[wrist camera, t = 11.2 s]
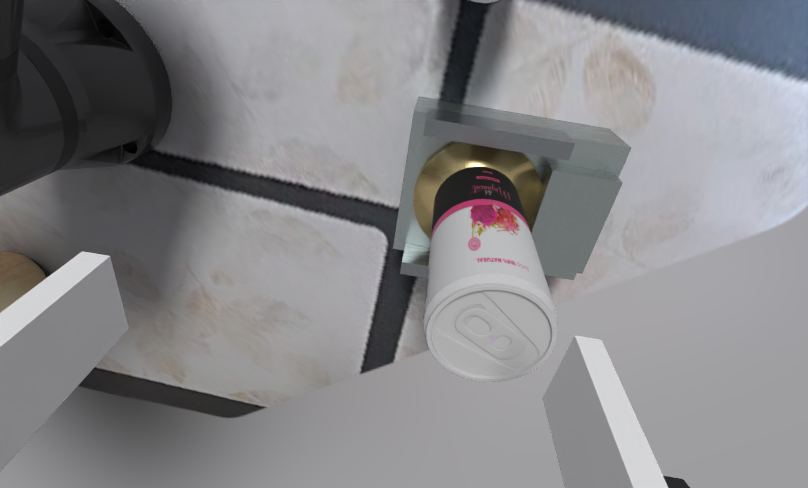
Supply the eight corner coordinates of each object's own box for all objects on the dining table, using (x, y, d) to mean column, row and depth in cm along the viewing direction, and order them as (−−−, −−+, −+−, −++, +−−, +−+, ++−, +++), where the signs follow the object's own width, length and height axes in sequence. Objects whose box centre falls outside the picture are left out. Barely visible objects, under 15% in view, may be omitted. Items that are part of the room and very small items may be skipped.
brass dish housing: (398, 225, 42) (388, 271, 35) (419, 91, 35) (411, 115, 28) (559, 253, 41) (580, 305, 34) (611, 124, 35) (650, 156, 28)
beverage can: (474, 146, 31) (490, 257, 18) (536, 200, 33) (591, 336, 20) (417, 206, 34) (395, 338, 21) (476, 253, 36) (490, 401, 23)
